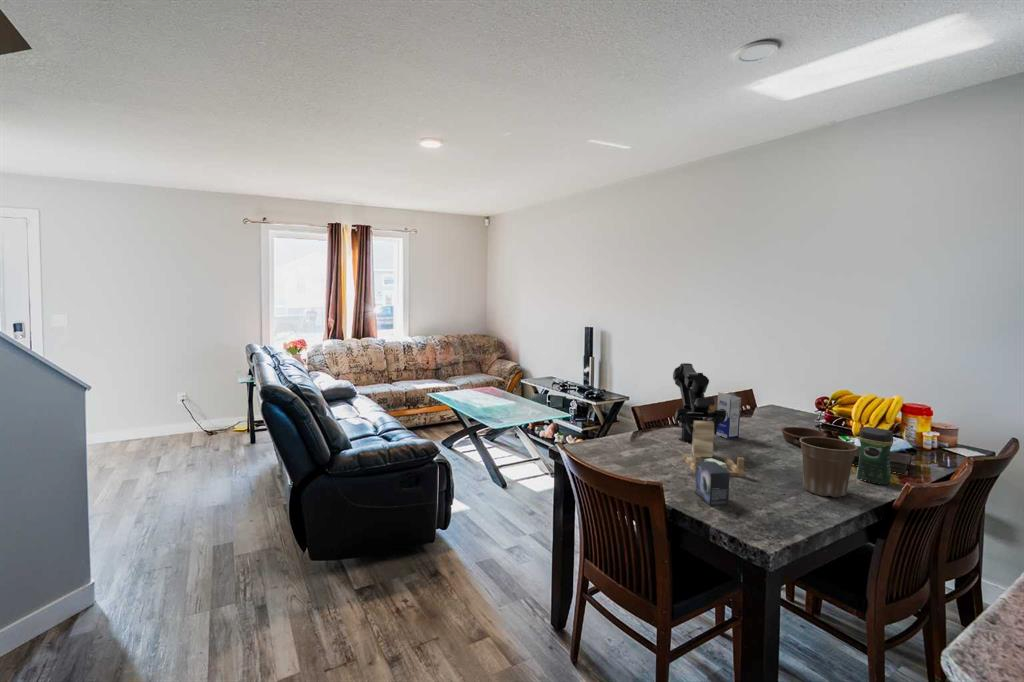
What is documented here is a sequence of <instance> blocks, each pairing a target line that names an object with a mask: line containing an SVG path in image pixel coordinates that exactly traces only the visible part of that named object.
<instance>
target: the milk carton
mask: <svg viewBox="0 0 1024 682" xmlns="http://www.w3.org/2000/svg"><path fill="white" fill-rule="evenodd" d="M741 403H742V397H739V396H737V394H736V393H734V392H728V393H724V392H720V391H719V392H717V406H716V407H717V408H716V410H724V411H725V412H726V417H725V420H724V422H722V423H720V424H718V428H717V433H716V435H718V436H717V437H719V436H722V437H724V438H723V439H725V438H727V439H726V440H729V439H728V438H734V439H737V438H736V437H740V436H739V435H740V421H741ZM716 435H715V436H716ZM722 437H721V438H722Z"/></svg>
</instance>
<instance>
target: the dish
mask: <svg viewBox="0 0 1024 682" xmlns="http://www.w3.org/2000/svg"><path fill="white" fill-rule="evenodd" d="M780 431H781V433H782V437H783V439H784V440H785V441H786V442H788V443H790V444H794V445H797V446H799V447H801V442H800V438H803V437H825V438H827V433H825V432H824V431H821V430H817V429H813V428H809V427H803V426H786V427H785V426H784V427H781V428H780Z"/></svg>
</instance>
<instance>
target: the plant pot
mask: <svg viewBox="0 0 1024 682" xmlns="http://www.w3.org/2000/svg"><path fill="white" fill-rule="evenodd" d="M800 442H801V446H800V449H801V450H800V452H801V453H802V480H803V481H802V482H803V483H802V484H803V485H802V486H803V488H804V490H806V491H807V492H809V493H811V494H813V493H814V495H816V496H817V495H818V496H822V497H828V496H830V497H832V498H842V497H841V496H843V497H845V496H846V495H847V491H848V488H849V487H848V486H849V481H850V476H851V471H852V467H853V466H852V461H853V460H854V456H855V451H856V450H857V449H858V447H857V446H858V445H856V444H854V443H851V442H849V441H846V440H841V439H838V438H832V437H803V438H800Z"/></svg>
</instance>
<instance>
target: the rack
mask: <svg viewBox="0 0 1024 682" xmlns="http://www.w3.org/2000/svg"><path fill="white" fill-rule="evenodd" d="M693 457H694V458H693V459H692V457H691V456H690V454H684V461H685V462H686V464H687V465H688V467H689V468H690V469H691V471H692V472H693V474H694V475H695V476H696V467H697V462H702V457H700V456H696V455H694V456H693ZM723 463H726V466H727V467H729V469H731V470H728V471H729V472H730V477H741V478H744V471H745V470H744V469H745V458H744V457H742V456H741V457H739V456H738V457H737V458H736V463H735V462H734V461H733V460H732V459H731V458H730V457H729V456H727V455H724V456H723Z"/></svg>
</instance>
